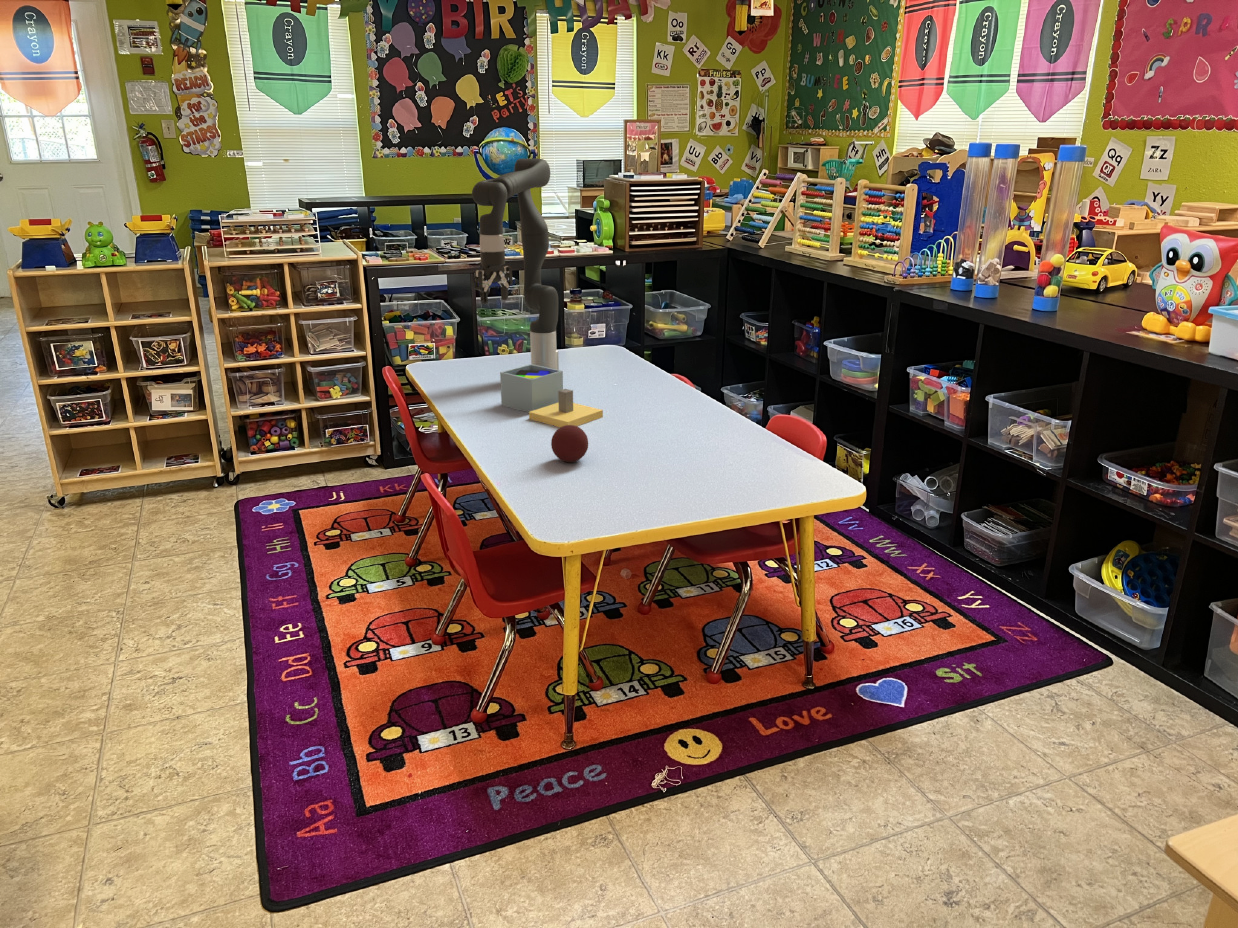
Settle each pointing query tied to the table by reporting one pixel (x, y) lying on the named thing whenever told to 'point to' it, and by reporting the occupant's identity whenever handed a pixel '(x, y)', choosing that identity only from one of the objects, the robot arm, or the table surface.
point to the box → (530, 388)
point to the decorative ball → (569, 443)
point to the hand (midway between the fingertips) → (494, 301)
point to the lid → (565, 412)
